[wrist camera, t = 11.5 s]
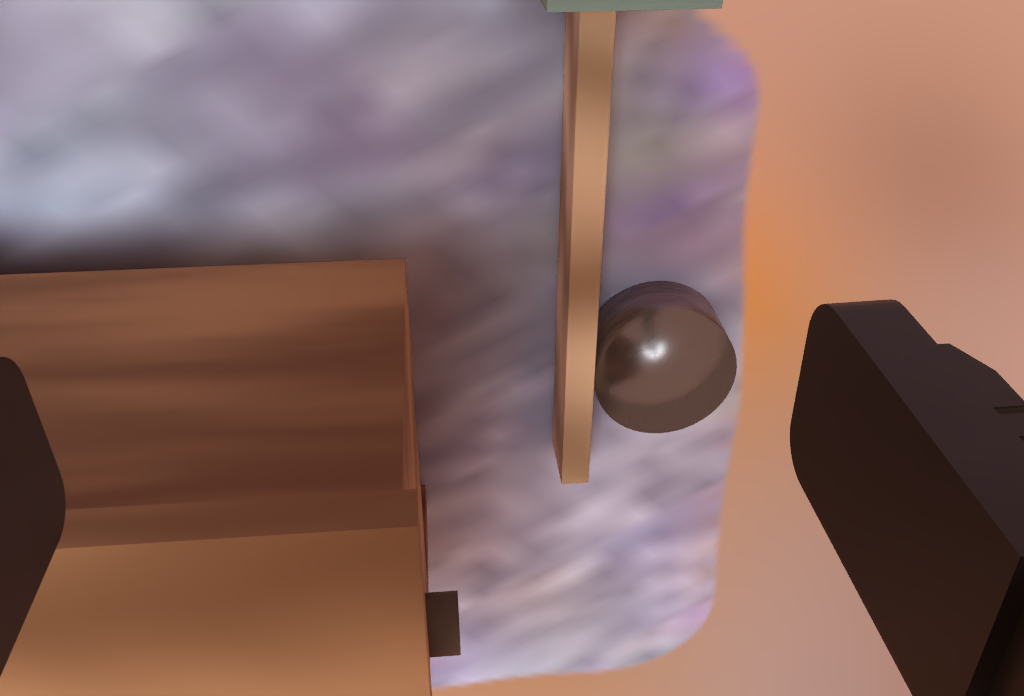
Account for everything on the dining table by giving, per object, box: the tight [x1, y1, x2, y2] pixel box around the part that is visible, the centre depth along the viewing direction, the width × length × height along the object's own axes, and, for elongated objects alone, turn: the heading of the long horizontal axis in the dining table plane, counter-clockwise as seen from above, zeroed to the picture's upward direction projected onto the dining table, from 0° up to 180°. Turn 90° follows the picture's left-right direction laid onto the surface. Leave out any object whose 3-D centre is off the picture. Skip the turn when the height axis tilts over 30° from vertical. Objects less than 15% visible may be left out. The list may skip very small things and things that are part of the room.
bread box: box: [0, 258, 461, 696], centre depth 27 cm, size 15×16×16 cm
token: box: [594, 281, 737, 433], centre depth 33 cm, size 5×5×2 cm
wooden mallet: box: [541, 0, 723, 484], centre depth 28 cm, size 22×4×7 cm, turn 0°
